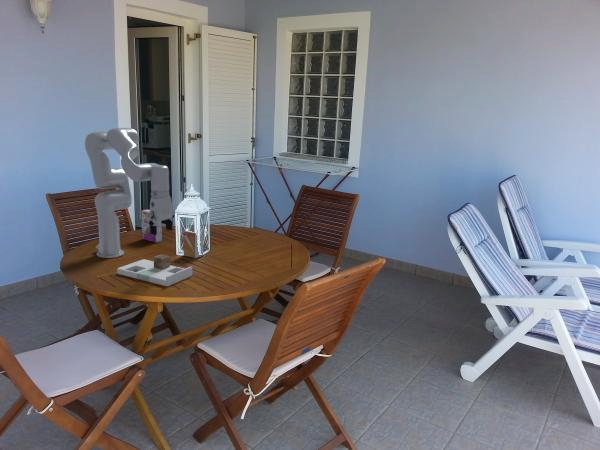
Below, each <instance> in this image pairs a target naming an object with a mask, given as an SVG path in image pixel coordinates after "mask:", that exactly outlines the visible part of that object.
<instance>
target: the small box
mask: <svg viewBox="0 0 600 450" xmlns="http://www.w3.org/2000/svg"><path fill="white" fill-rule="evenodd" d="M183 231H184V230H183ZM182 239H183V240H182V243H183V244H182V249H183V251H182V252H184V255H183V256H185V257H190V258H194V259H197V258H200V257H201V256H200V255H199V252H198V247H197V245H198V244H197V235H196V233H195V232H192V231H184V233H183V232H182ZM200 241H201V243H200V246H201V254H202V256H204V230H201V236H200ZM199 256H200V257H199Z"/></svg>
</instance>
